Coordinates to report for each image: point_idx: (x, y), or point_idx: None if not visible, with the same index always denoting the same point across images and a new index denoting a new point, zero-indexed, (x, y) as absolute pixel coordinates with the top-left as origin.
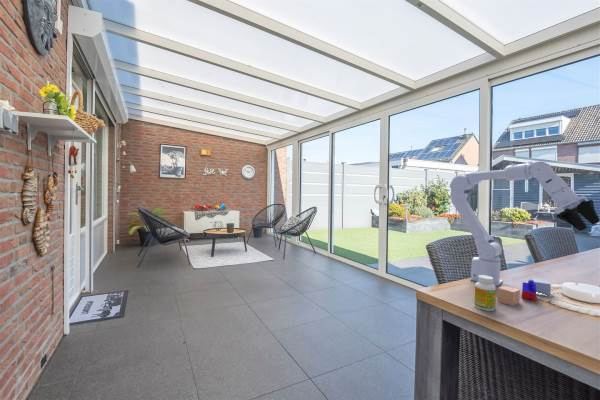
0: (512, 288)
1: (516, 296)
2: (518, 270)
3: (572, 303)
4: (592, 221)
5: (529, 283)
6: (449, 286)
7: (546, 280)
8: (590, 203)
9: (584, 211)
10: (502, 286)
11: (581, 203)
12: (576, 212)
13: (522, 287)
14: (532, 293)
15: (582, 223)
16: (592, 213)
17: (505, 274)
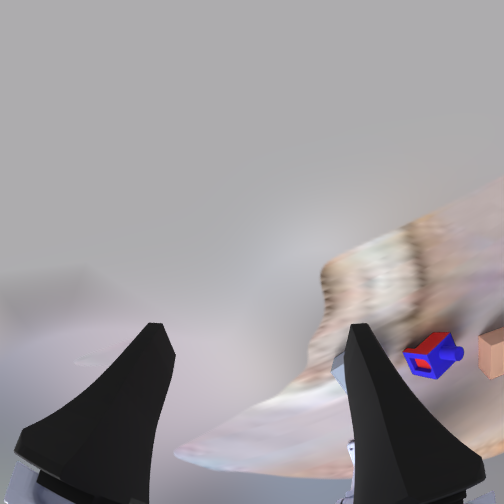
0: (497, 356)
1: (500, 336)
2: (205, 455)
3: (363, 289)
4: (166, 363)
5: (461, 353)
6: (492, 445)
7: (334, 373)
8: (68, 447)
9: (134, 443)
10: (500, 374)
11: (97, 500)
12: (425, 447)
13: (451, 364)
14: (450, 338)
15: (386, 356)
16: (131, 388)
17: (272, 463)
